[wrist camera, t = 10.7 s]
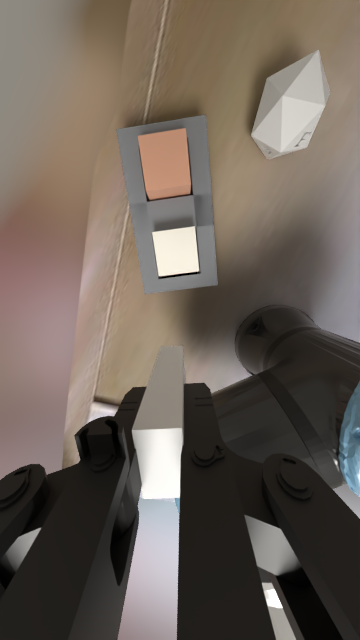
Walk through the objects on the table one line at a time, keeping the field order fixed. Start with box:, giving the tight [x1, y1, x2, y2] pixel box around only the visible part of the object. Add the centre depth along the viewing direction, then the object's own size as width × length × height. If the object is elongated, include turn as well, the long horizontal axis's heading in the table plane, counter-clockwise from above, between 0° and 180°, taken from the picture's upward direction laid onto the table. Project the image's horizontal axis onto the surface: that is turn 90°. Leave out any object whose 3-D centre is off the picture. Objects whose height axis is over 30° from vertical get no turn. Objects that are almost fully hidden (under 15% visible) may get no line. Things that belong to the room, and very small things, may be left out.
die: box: [251, 50, 330, 160], centre depth 23 cm, size 8×9×10 cm
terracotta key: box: [138, 128, 191, 201], centre depth 24 cm, size 6×6×5 cm
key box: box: [116, 115, 218, 294], centre depth 28 cm, size 12×22×4 cm, turn 7°
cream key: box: [152, 226, 199, 276], centre depth 27 cm, size 6×6×5 cm
